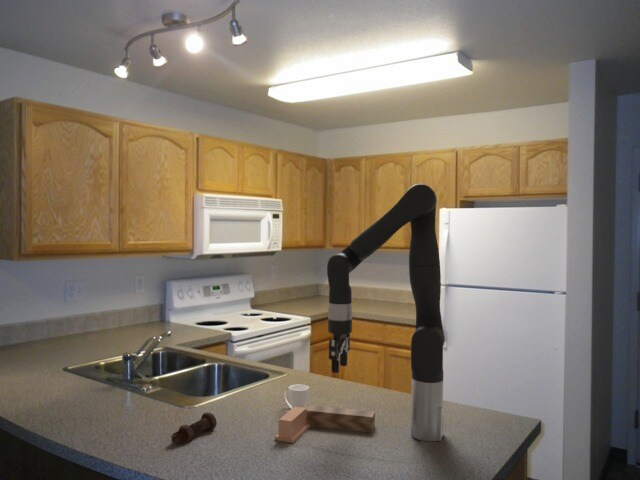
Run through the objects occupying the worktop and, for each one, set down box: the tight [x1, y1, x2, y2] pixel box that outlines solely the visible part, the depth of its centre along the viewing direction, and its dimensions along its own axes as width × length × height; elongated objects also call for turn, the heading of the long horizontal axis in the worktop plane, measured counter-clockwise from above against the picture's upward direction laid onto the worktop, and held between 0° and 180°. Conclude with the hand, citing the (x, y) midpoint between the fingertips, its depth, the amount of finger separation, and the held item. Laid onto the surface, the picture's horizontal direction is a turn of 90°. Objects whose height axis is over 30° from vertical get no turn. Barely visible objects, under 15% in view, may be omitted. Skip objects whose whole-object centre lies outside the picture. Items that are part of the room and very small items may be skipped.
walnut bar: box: [305, 404, 376, 433], centre depth 166 cm, size 22×5×5 cm, turn 76°
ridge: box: [274, 406, 311, 444], centre depth 159 cm, size 6×13×6 cm, turn 160°
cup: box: [283, 383, 310, 410], centre depth 180 cm, size 7×10×8 cm
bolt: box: [170, 412, 218, 445], centre depth 156 cm, size 6×5×15 cm
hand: (339, 368), depth 166 cm, fingers open, 8 cm apart
